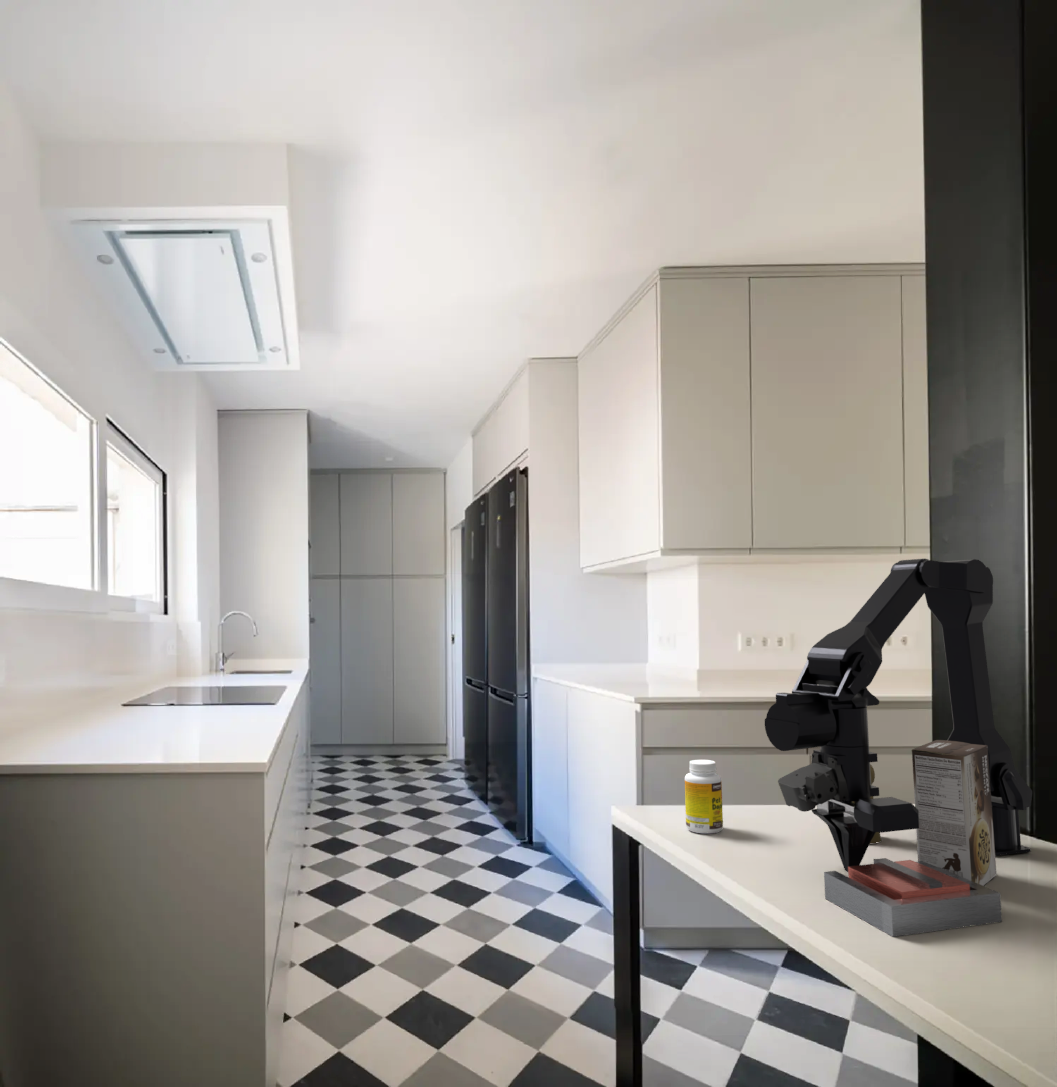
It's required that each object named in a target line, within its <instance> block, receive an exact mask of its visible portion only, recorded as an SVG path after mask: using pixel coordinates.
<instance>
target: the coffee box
mask: <svg viewBox="0 0 1057 1087" xmlns="http://www.w3.org/2000/svg"><path fill="white" fill-rule="evenodd" d="M947 740H948V739H947ZM947 740H946V739H945V740H944V739H936V740H935V739H934V740H933V741H930V742H927V743H925V744H923V745H920V746H917V747H914V748H913V749H911V758H912V760H911V761H912V775H913V796H914V806H915V807H916V808H917V809H918V811H919V826H920V827H919V829H915V830H916V833H915V834H916V850H917V862H918V861H924V862H926V863H929V864H931V865H934V866H936V867H939V868H941V869H943V870H946V871H948V872H951V873H953V874H956V875H958V876H960V877H963V878H965V879H968V880H970V881H973V882H975V883H978V884H980V885H982V886H985V885H986V884H987V883H989V882H991V880H992V879H994V878H995V876H997V865H996V864H997V860H996V856H995V847H994V832H993V819H992V803H991V789H990V775H989V762H988V749H987V747H988V746H987V745H977V744H970V743H964V742H958V741H947Z"/></svg>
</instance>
